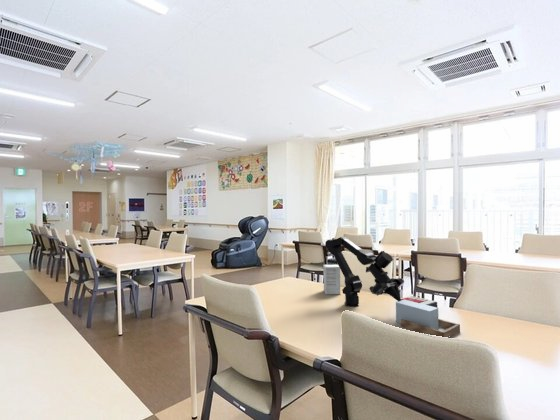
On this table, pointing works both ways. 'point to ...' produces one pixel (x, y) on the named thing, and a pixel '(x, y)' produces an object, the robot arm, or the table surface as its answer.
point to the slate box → (417, 313)
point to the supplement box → (331, 279)
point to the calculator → (422, 301)
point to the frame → (450, 328)
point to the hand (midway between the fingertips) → (400, 301)
